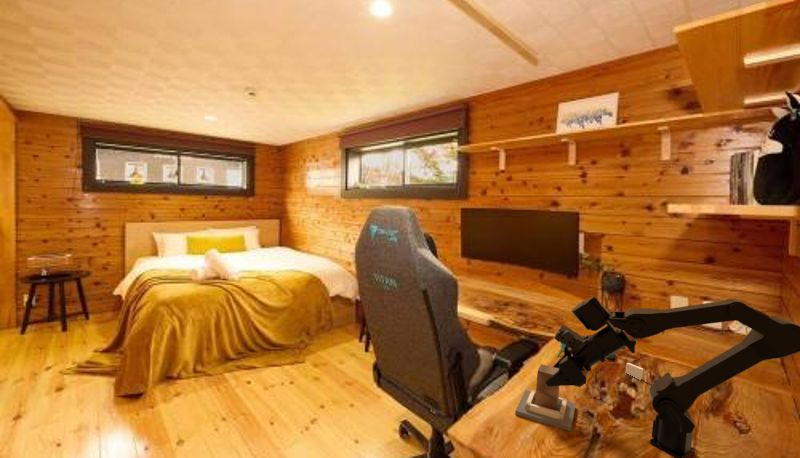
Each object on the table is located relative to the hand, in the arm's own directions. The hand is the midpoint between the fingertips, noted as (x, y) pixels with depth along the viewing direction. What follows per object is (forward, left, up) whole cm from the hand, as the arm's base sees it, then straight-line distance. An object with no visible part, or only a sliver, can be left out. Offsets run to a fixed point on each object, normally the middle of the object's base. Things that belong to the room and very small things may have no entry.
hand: (549, 377), depth 98 cm
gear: (+19, -37, -9) cm, 43 cm away
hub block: (0, 0, -8) cm, 8 cm away
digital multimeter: (+22, -52, -10) cm, 57 cm away
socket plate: (0, 0, -9) cm, 9 cm away
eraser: (+2, -45, -9) cm, 46 cm away
